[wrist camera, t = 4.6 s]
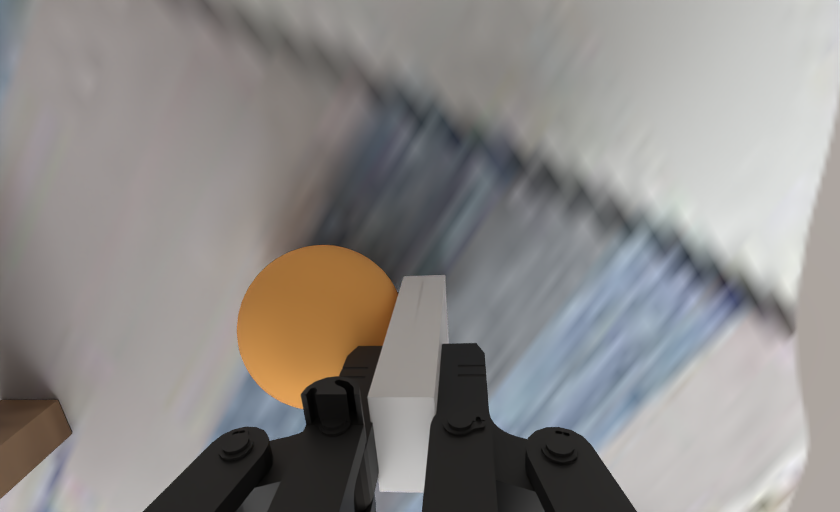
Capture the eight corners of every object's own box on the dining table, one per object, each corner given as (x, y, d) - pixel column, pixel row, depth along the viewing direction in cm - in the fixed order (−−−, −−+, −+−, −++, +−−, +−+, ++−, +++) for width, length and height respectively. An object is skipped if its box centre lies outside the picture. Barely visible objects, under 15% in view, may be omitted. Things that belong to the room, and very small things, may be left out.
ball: (332, 338, 20) (222, 412, 16) (313, 218, 18) (182, 266, 14) (438, 373, 17) (338, 475, 13) (429, 234, 15) (307, 302, 11)
